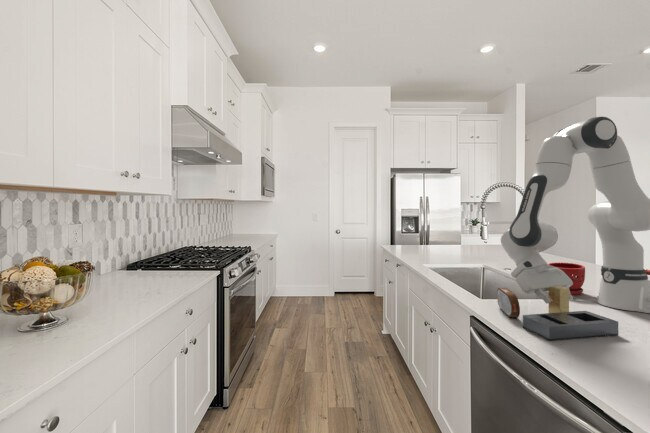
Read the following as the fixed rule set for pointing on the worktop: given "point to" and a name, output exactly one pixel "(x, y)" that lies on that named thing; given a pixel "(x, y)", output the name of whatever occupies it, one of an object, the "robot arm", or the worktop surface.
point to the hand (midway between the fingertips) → (560, 301)
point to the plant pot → (576, 271)
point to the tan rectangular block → (559, 299)
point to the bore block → (570, 325)
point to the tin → (508, 302)
